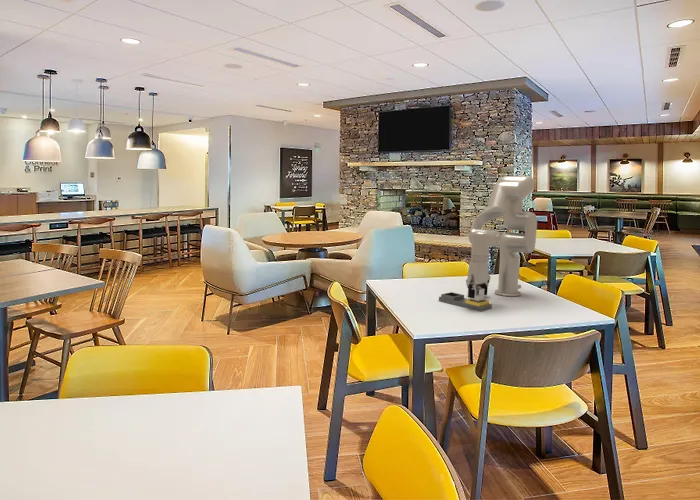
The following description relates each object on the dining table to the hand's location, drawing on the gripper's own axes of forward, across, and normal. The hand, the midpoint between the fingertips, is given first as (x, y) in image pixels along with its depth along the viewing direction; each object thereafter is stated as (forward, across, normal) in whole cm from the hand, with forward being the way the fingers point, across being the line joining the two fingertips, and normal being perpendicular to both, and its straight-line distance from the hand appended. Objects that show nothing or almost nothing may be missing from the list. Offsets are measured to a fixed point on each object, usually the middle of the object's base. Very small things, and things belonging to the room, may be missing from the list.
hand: (477, 296), depth 224 cm
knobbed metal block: (+3, 0, 0) cm, 3 cm away
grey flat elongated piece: (+5, 0, -7) cm, 9 cm away
